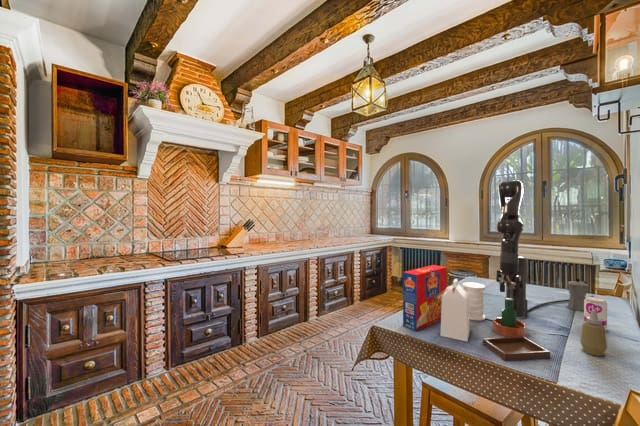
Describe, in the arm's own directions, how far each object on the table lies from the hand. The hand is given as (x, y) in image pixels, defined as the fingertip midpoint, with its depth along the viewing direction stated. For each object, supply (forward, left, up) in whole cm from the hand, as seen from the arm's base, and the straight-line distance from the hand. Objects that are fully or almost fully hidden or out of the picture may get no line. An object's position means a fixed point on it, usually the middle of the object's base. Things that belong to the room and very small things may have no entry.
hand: (508, 294), depth 138 cm
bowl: (0, 0, -19) cm, 19 cm away
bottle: (0, 0, -18) cm, 18 cm away
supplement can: (-46, 0, -19) cm, 50 cm away
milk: (+26, -2, -19) cm, 32 cm away
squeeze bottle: (-21, +21, -19) cm, 35 cm away
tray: (+10, +16, -19) cm, 27 cm away
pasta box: (+33, -17, -19) cm, 42 cm away
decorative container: (+5, -20, -19) cm, 28 cm away
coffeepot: (-65, -26, -19) cm, 73 cm away
